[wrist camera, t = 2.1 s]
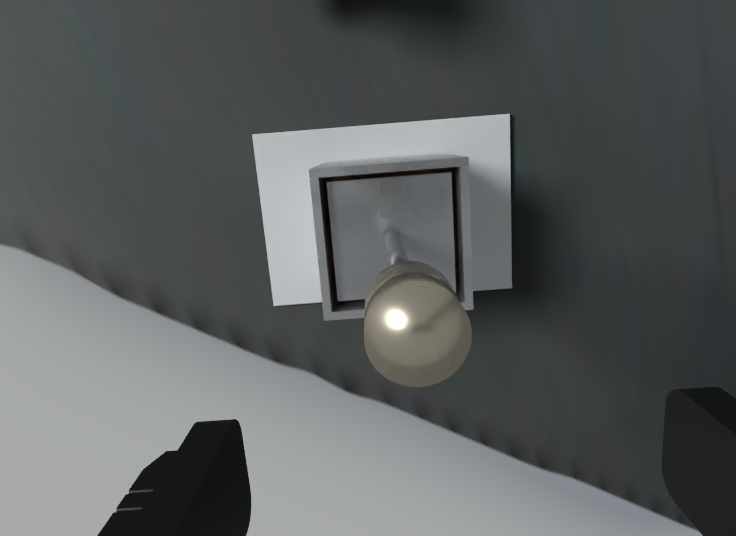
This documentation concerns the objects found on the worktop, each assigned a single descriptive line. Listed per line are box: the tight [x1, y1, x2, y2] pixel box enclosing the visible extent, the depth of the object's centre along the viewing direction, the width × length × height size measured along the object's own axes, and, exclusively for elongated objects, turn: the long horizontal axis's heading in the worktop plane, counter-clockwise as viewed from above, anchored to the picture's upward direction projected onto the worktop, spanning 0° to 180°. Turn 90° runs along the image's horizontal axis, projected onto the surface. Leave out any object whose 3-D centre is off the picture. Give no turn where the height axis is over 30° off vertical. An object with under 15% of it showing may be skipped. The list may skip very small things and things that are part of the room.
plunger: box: [326, 172, 472, 387], centre depth 24 cm, size 7×7×17 cm
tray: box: [252, 114, 512, 306], centre depth 42 cm, size 20×14×1 cm
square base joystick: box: [309, 153, 473, 321], centre depth 36 cm, size 9×9×12 cm
